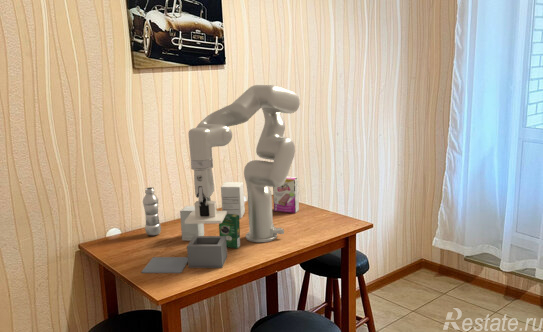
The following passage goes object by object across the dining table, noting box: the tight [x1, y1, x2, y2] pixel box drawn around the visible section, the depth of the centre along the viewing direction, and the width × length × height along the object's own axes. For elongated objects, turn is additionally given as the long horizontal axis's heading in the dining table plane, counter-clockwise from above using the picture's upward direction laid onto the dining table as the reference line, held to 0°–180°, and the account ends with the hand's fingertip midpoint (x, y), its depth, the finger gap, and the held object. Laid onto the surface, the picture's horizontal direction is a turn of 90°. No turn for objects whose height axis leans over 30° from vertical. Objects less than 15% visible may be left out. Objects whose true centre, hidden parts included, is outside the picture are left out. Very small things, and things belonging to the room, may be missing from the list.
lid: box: [185, 200, 227, 225], centre depth 180 cm, size 13×11×6 cm
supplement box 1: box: [179, 205, 205, 242], centre depth 208 cm, size 7×7×13 cm
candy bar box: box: [272, 175, 300, 214], centre depth 239 cm, size 11×5×16 cm, turn 68°
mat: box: [141, 256, 188, 274], centre depth 183 cm, size 14×13×1 cm
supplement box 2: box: [220, 181, 246, 219], centre depth 235 cm, size 9×9×15 cm
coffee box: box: [218, 214, 241, 250], centre depth 197 cm, size 8×3×13 cm, turn 66°
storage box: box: [186, 235, 228, 269], centre depth 183 cm, size 12×10×8 cm
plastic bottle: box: [142, 186, 162, 236], centre depth 213 cm, size 6×7×20 cm
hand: (205, 214), depth 181 cm, fingers closed on lid, 3 cm apart
